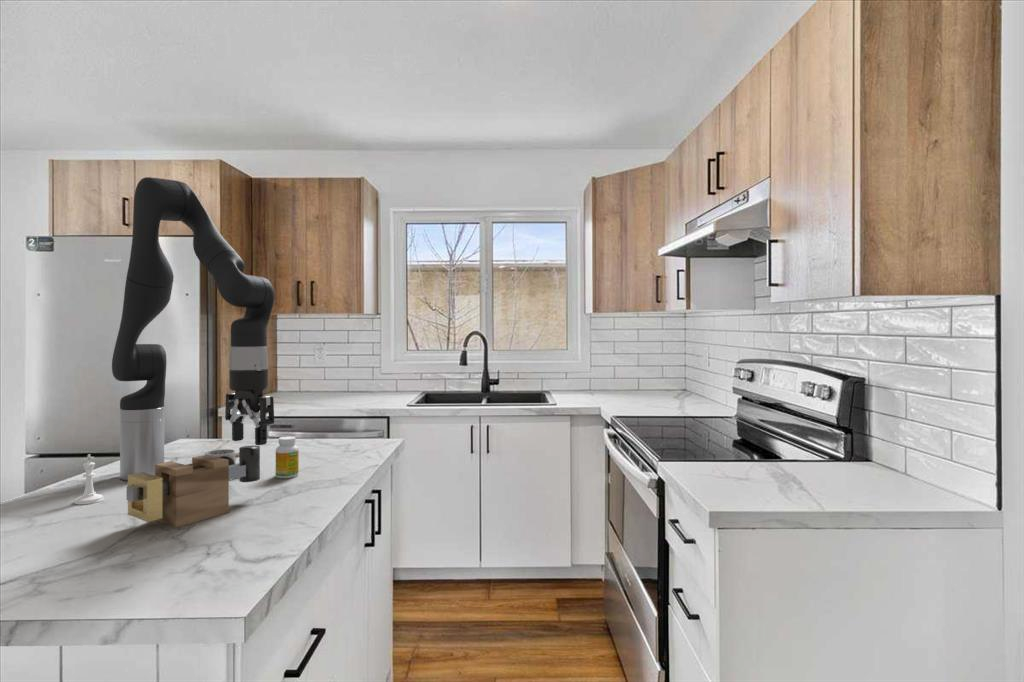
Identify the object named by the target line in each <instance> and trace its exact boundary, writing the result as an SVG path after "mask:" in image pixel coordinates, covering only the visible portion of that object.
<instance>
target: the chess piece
mask: <svg viewBox="0 0 1024 682" xmlns="http://www.w3.org/2000/svg"><path fill="white" fill-rule="evenodd" d="M83 460H84V461H87V462H84V463H83V464H82V466H83V468H84V471H85V473H84V474H82V477H84V478H85V479H86V480H85V485H84V493H82V495H81V496H78V497H76V498H75V499H74V504H75V505H81V506H83V505H90V504H96V503H99V502H102V501H103V500H104V499H105V498H104V496H103V494H99V493H97V492H96V491H95V489H94V482H93V477H94V476H96V473H95V472H93V470H94V468H95V465H96V463H95V462H93V461H91V460H95V456H91V453H90V454H87V457H84V458H83Z"/></svg>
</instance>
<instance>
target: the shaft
mask: <svg viewBox="0 0 1024 682" xmlns="http://www.w3.org/2000/svg"><path fill="white" fill-rule="evenodd" d="M238 450H239V452H238V453H239V457H238V458H239V459H238V460H239V463H235V464H234V465H229V481H232V480H235V479H238V481H239V482H241V483H252V482H257V481H259V480H260V479H261V466H260V465H261V463H260V462H261V456H260V455H261V445H245V446H241V447H239V448H238ZM231 479H232V480H231ZM166 494H169V478H166V479H162V495H166ZM128 500H129V501H131V502H135V501H140V500H143V488H142V487H139V486H136V485H132V486H128V485H126V501H128Z"/></svg>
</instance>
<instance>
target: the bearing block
mask: <svg viewBox="0 0 1024 682" xmlns="http://www.w3.org/2000/svg"><path fill="white" fill-rule="evenodd" d="M155 476H158V477H161V478H162V479H166V478H169V494H166V495H162V518H161V519H157V520H156V521H159V522H161V523H163V524H164V523H165V524H166V525H169V526H172V527H175V528H179V527H182V526H185V525H190V524H193V523H197V522H199V521H203V520H206V519H211V518H215V517H217V516H221V515H224V514H229V513H230V512H229V510H230V509H229V505H230V504H229V501H230V499H229V492H230V491H229V489H230V488H229V487H230V486H229V485H230V484H229V482H230V480H229V460H228V459H223V458H219V457H215V456H210V455H205V454H204V455H197V456H192V458H191V463H186V464H183V463H180V462H176V461H171V460H170V461H164V463H159V464H155Z"/></svg>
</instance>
